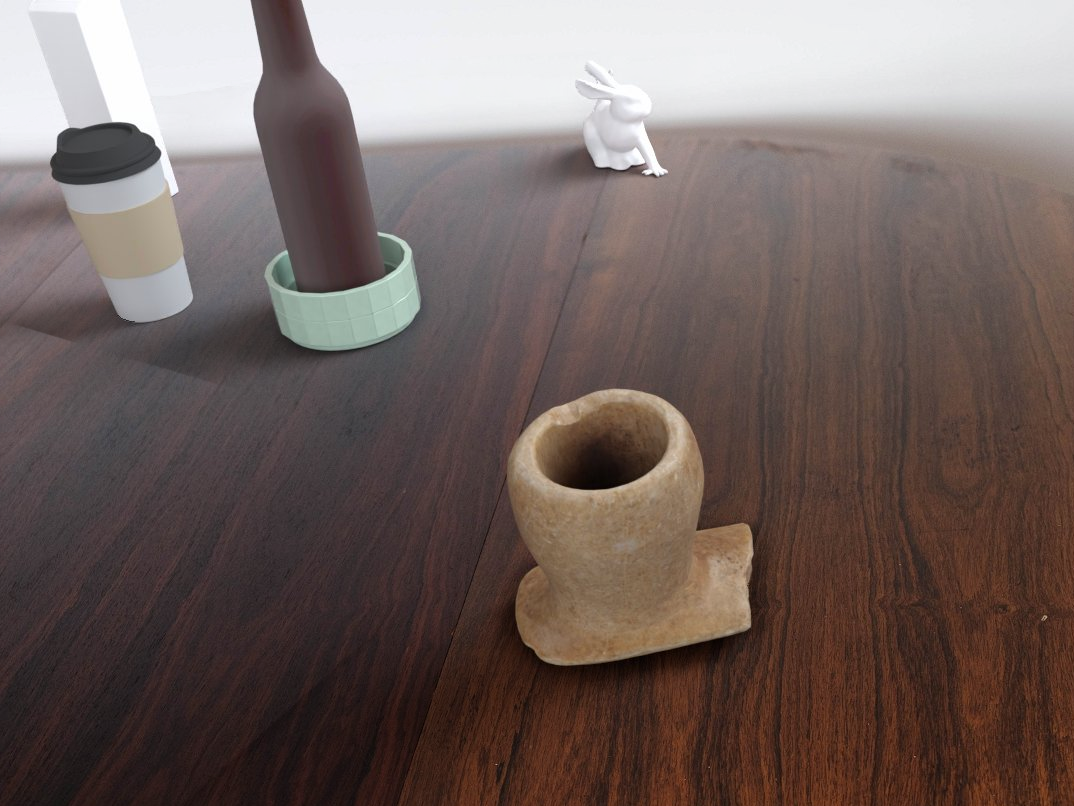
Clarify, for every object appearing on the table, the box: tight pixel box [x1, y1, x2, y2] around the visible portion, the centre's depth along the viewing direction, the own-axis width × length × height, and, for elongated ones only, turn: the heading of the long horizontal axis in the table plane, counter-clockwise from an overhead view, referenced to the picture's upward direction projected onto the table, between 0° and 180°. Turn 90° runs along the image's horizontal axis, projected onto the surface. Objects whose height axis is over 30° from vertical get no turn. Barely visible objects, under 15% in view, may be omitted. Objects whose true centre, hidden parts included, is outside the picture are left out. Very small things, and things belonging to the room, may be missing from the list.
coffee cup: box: [49, 122, 194, 323], centre depth 111 cm, size 9×9×15 cm
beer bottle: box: [250, 0, 386, 293], centre depth 100 cm, size 8×8×30 cm
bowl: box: [263, 231, 422, 352], centre depth 109 cm, size 12×12×5 cm
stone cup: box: [506, 388, 754, 666], centre depth 73 cm, size 15×12×15 cm
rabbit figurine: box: [575, 60, 669, 177], centre depth 128 cm, size 12×8×10 cm, turn 20°
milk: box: [27, 0, 180, 197], centre depth 127 cm, size 6×6×22 cm
